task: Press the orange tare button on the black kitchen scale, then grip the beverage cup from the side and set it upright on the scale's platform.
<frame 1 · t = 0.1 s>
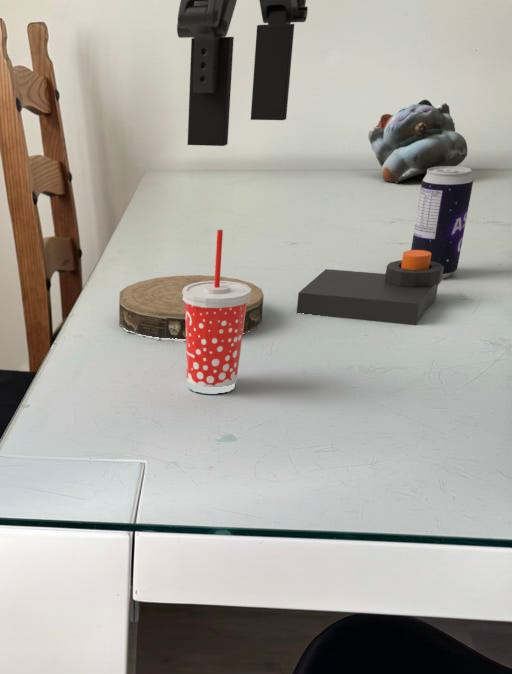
hand: (239, 132, 75), 23 cm above the table, tool pointing down, fingers open, 13 cm apart
beverage cup: (211, 388, 95), on the table
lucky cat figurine: (411, 179, 178), on the table
tare button: (416, 261, 112), point 5 cm above the table, slide at 0.1 cm
wood slice: (189, 322, 113), on the table
beverage can: (430, 277, 124), on the table
scale: (366, 306, 114), on the table
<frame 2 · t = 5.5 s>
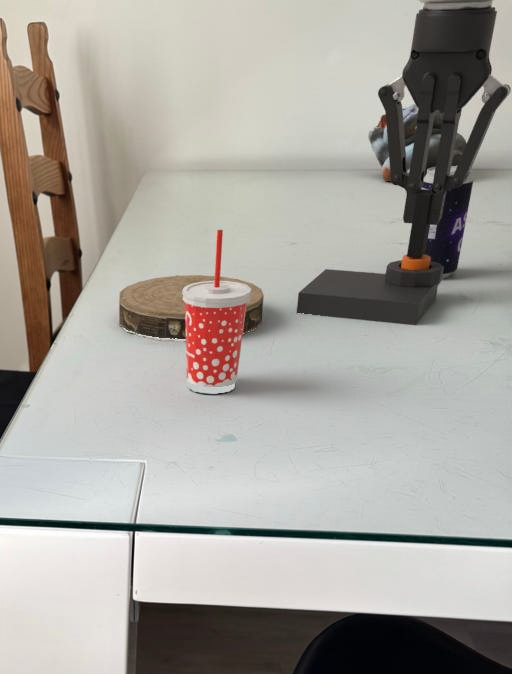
hand: (416, 254, 112), 5 cm above the table, tool pointing down, fingers closed
tare button: (415, 264, 112), point 4 cm above the table, slide at -0.3 cm, touching gripper
everything else where it was.
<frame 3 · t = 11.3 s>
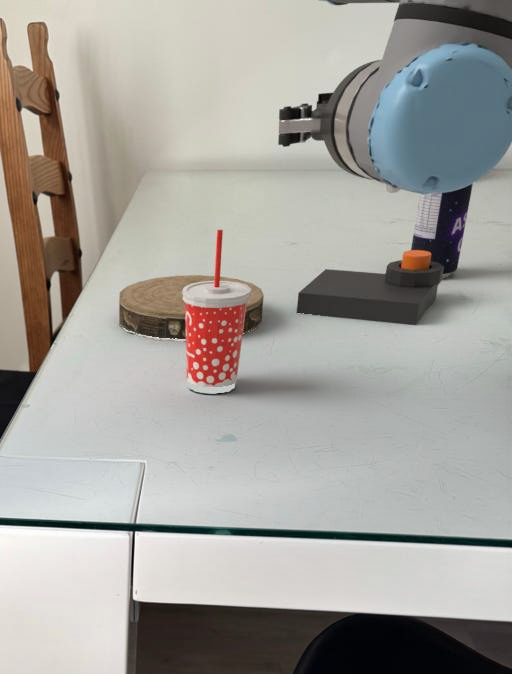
hand: (324, 117, 89), 21 cm above the table, tool horizontal, fingers closed
tare button: (416, 261, 112), point 4 cm above the table, slide at 0.1 cm
everything else where it was.
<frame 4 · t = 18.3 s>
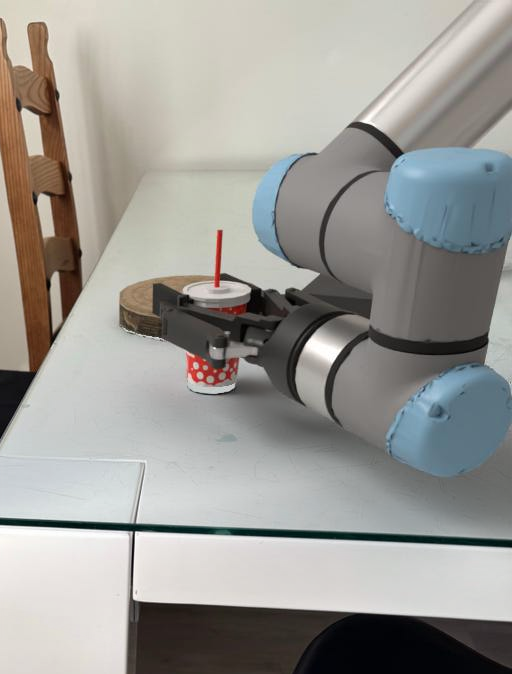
hand: (188, 293, 95), 7 cm above the table, tool horizontal, fingers closed on beverage cup, 6 cm apart
beverage cup: (211, 388, 95), on the table, touching gripper
everything else where it was.
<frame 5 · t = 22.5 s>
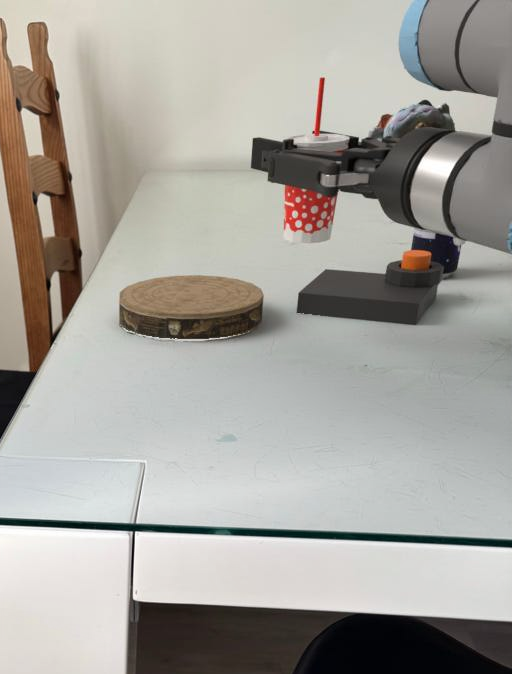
hand: (285, 149, 100), 18 cm above the table, tool horizontal, fingers closed on beverage cup, 6 cm apart
beverage cup: (306, 240, 100), point 10 cm above the table, touching gripper
everything else where it was.
when the fingers open (10 cm above the table, at t = 26.9 s): beverage cup stays where it is, resting on scale.
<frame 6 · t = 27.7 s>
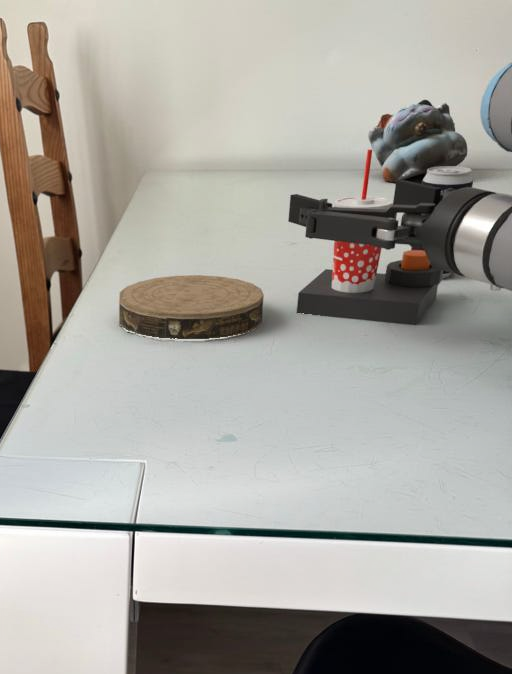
hand: (345, 200, 110), 11 cm above the table, tool horizontal, fingers open, 13 cm apart
beverage cup: (352, 289, 112), point 2 cm above the table, touching scale
everything else where it was.
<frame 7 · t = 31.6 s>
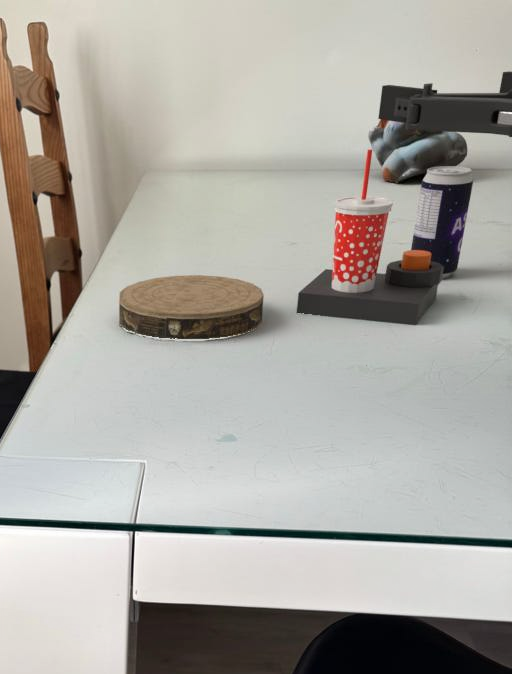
hand: (444, 94, 94), 22 cm above the table, tool horizontal, fingers open, 13 cm apart
nothing on the table moved.
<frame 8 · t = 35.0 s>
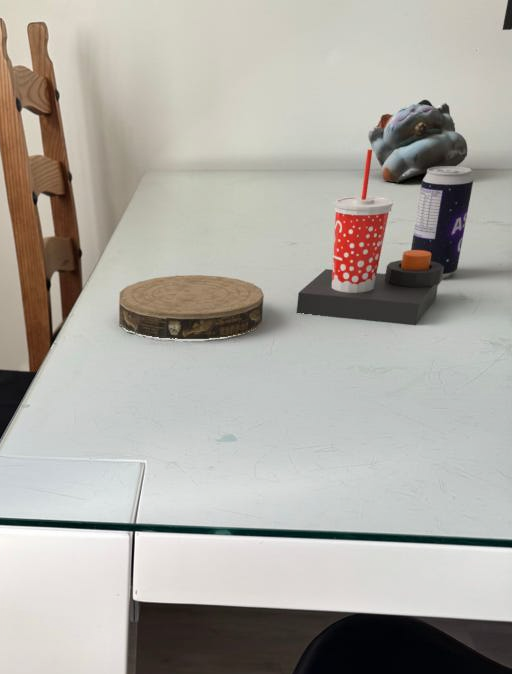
nothing on the table moved.
at the end: tare button pushed in 0.8 cm at the most during the clip, back to where it started at the end; beverage cup inside the target area on the scale (2.1 cm from its centre), point 2.2 cm above the scale's base; beverage cup tilted 0° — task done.
